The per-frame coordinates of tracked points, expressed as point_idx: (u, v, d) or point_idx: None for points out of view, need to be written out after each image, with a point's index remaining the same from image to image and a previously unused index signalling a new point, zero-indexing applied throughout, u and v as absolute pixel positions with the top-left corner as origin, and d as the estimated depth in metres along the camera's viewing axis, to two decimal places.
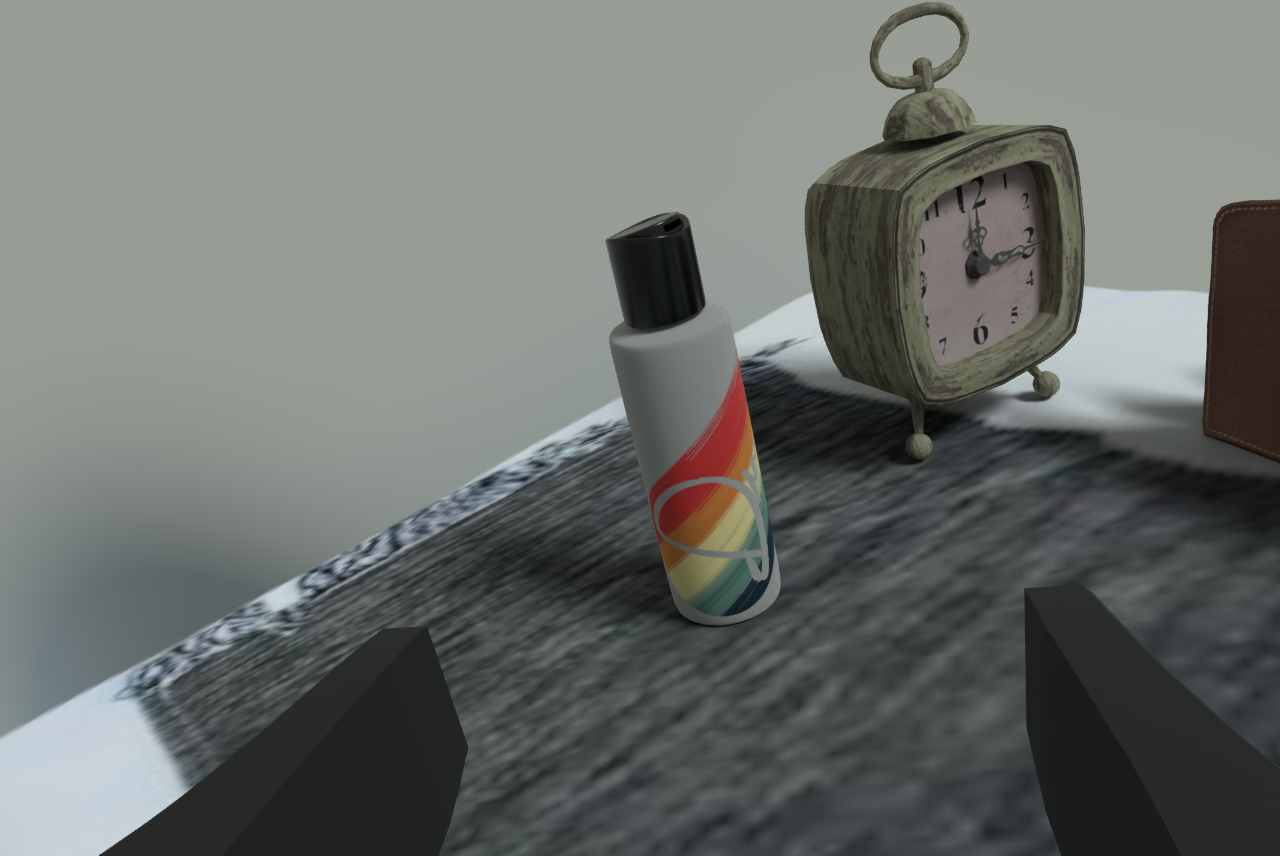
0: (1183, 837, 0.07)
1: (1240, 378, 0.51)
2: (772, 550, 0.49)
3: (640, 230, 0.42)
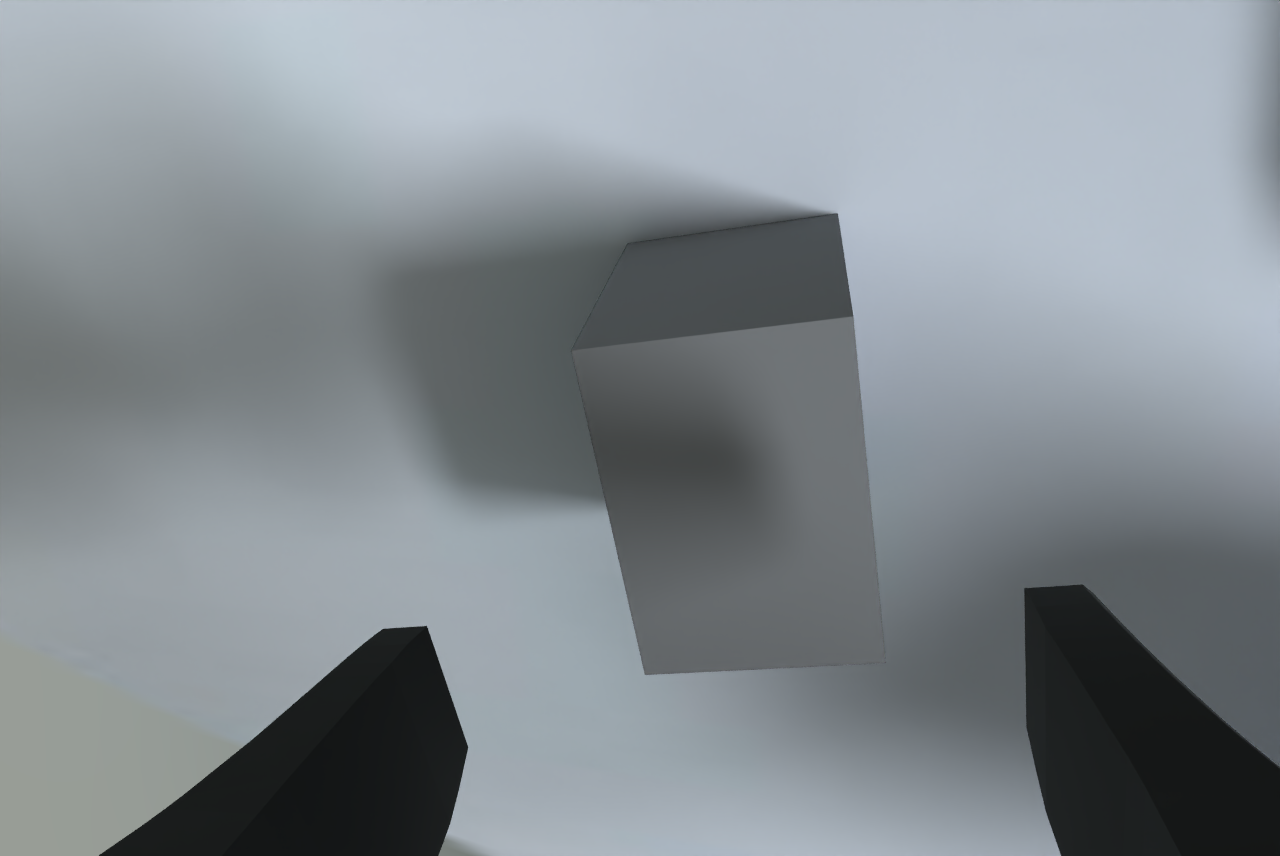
0: (1183, 837, 0.07)
1: None
2: None
3: None
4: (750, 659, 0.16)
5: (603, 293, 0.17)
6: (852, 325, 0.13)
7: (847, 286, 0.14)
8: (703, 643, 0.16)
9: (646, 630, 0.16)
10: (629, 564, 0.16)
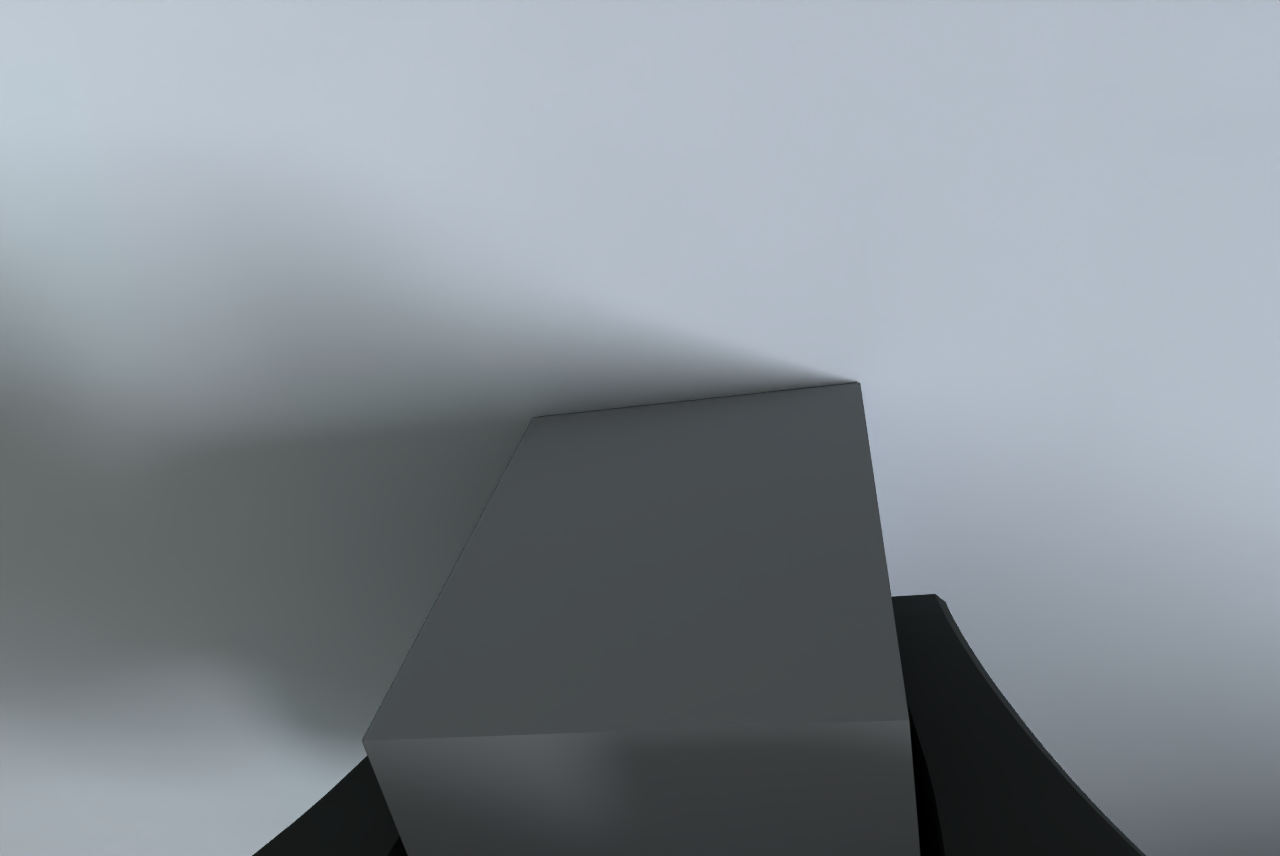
0: (953, 840, 0.07)
1: None
2: None
3: None
4: None
5: (467, 548, 0.10)
6: (907, 735, 0.07)
7: (890, 604, 0.08)
8: None
9: None
10: None
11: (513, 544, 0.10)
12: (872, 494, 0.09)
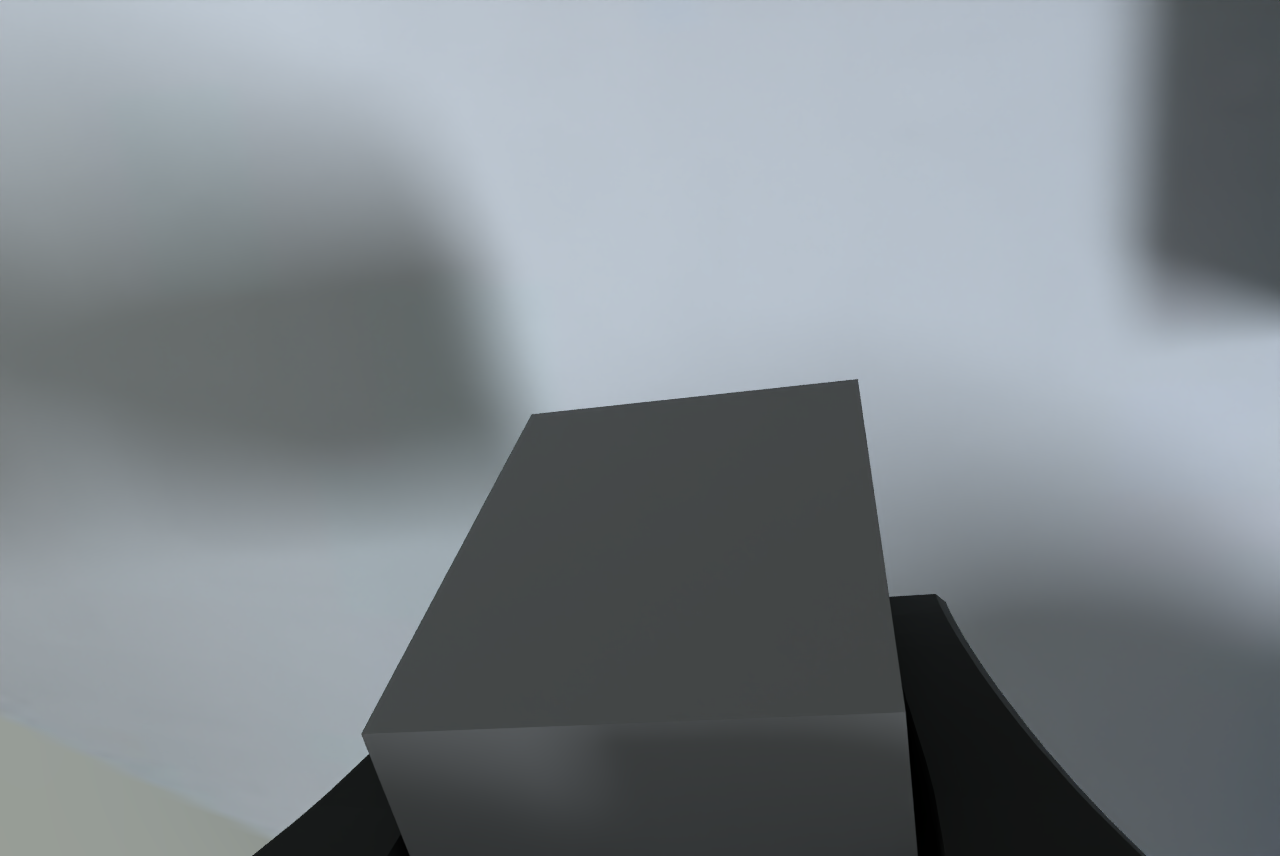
0: (953, 840, 0.07)
1: None
2: None
3: None
4: None
5: (465, 544, 0.10)
6: (904, 727, 0.07)
7: (887, 598, 0.08)
8: None
9: None
10: None
11: (512, 539, 0.10)
12: (869, 489, 0.09)
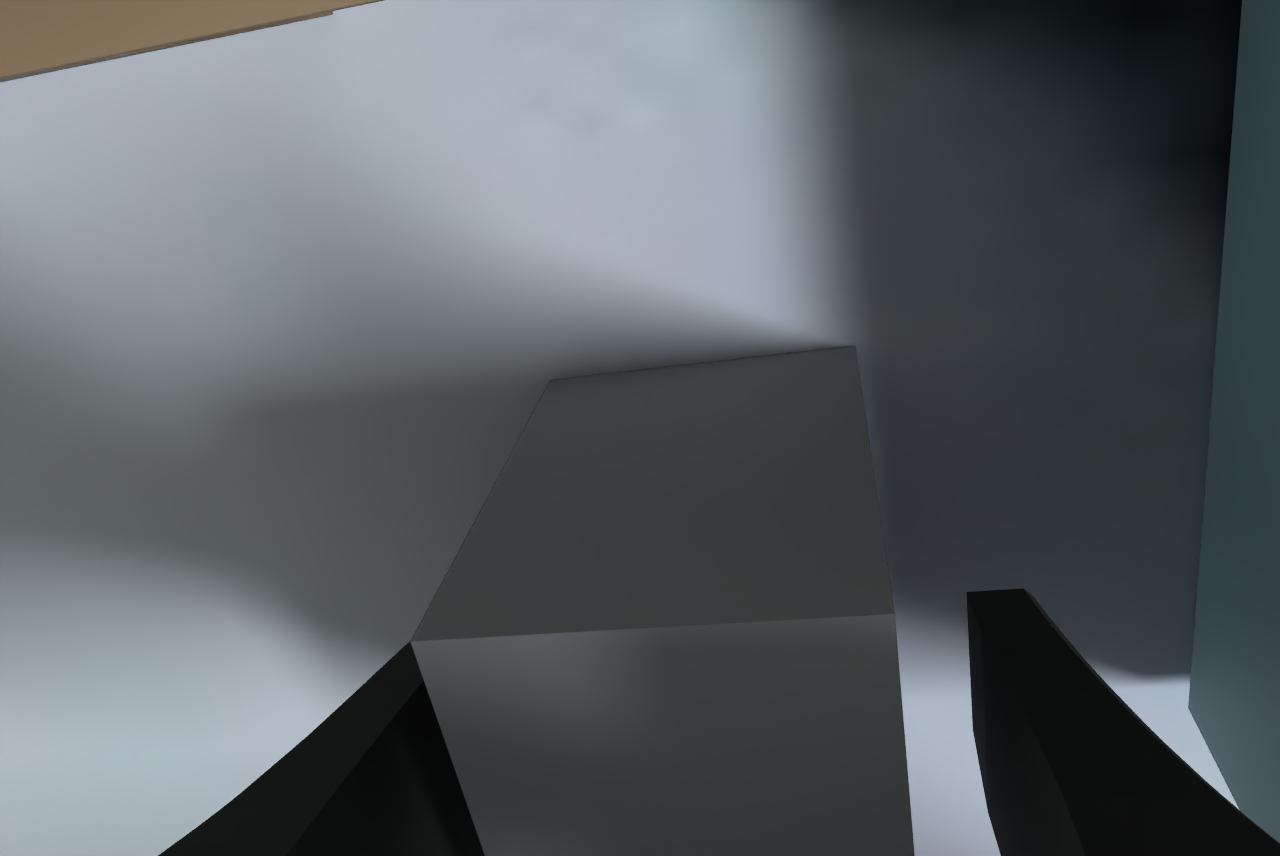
0: (1090, 838, 0.07)
1: None
2: None
3: None
4: None
5: (494, 488, 0.11)
6: (893, 628, 0.08)
7: (879, 525, 0.09)
8: None
9: None
10: None
11: (538, 483, 0.10)
12: (865, 437, 0.10)
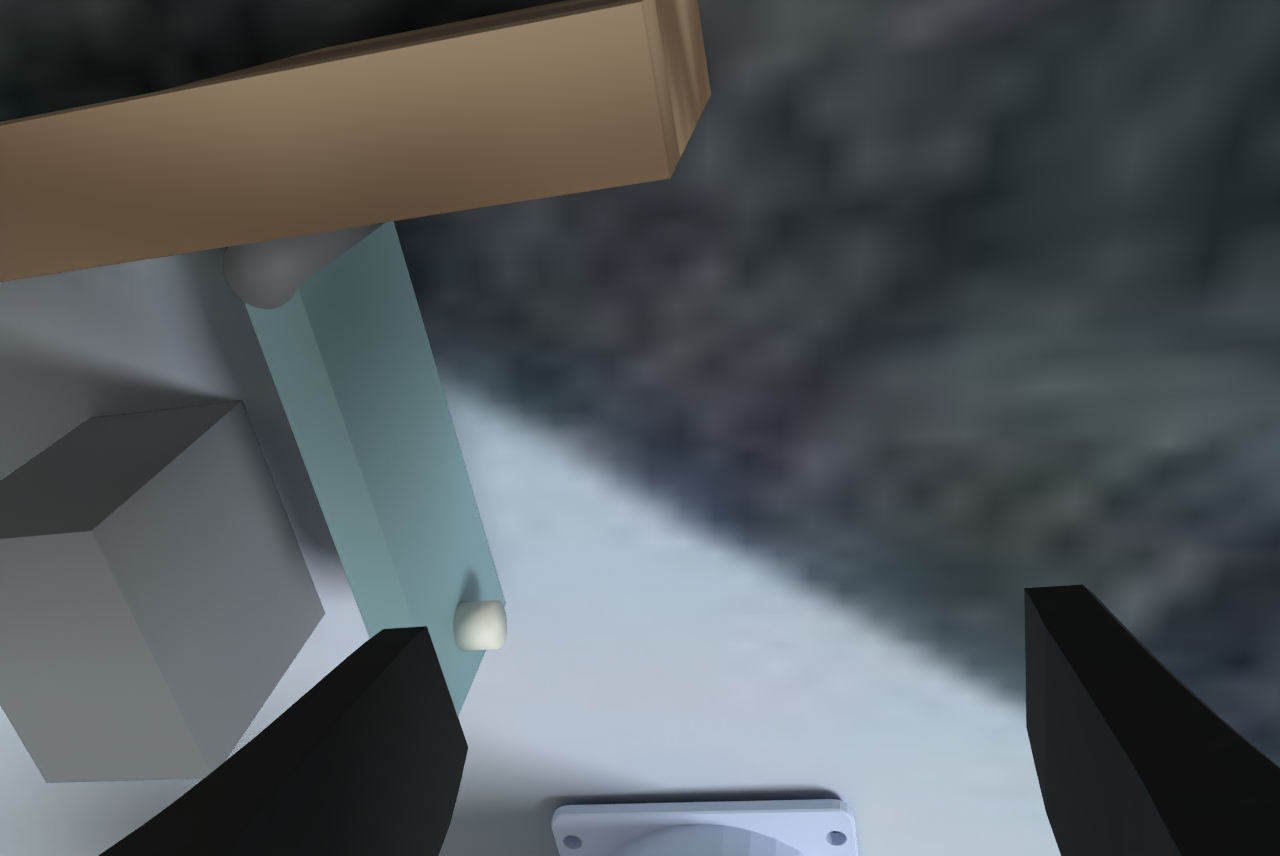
0: (1183, 837, 0.07)
1: None
2: None
3: None
4: (117, 773, 0.20)
5: (7, 478, 0.21)
6: (93, 537, 0.18)
7: (132, 494, 0.19)
8: (79, 760, 0.20)
9: (35, 749, 0.20)
10: (4, 701, 0.20)
11: (25, 476, 0.20)
12: (181, 452, 0.20)
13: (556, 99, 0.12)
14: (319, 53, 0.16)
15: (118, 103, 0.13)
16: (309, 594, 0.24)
